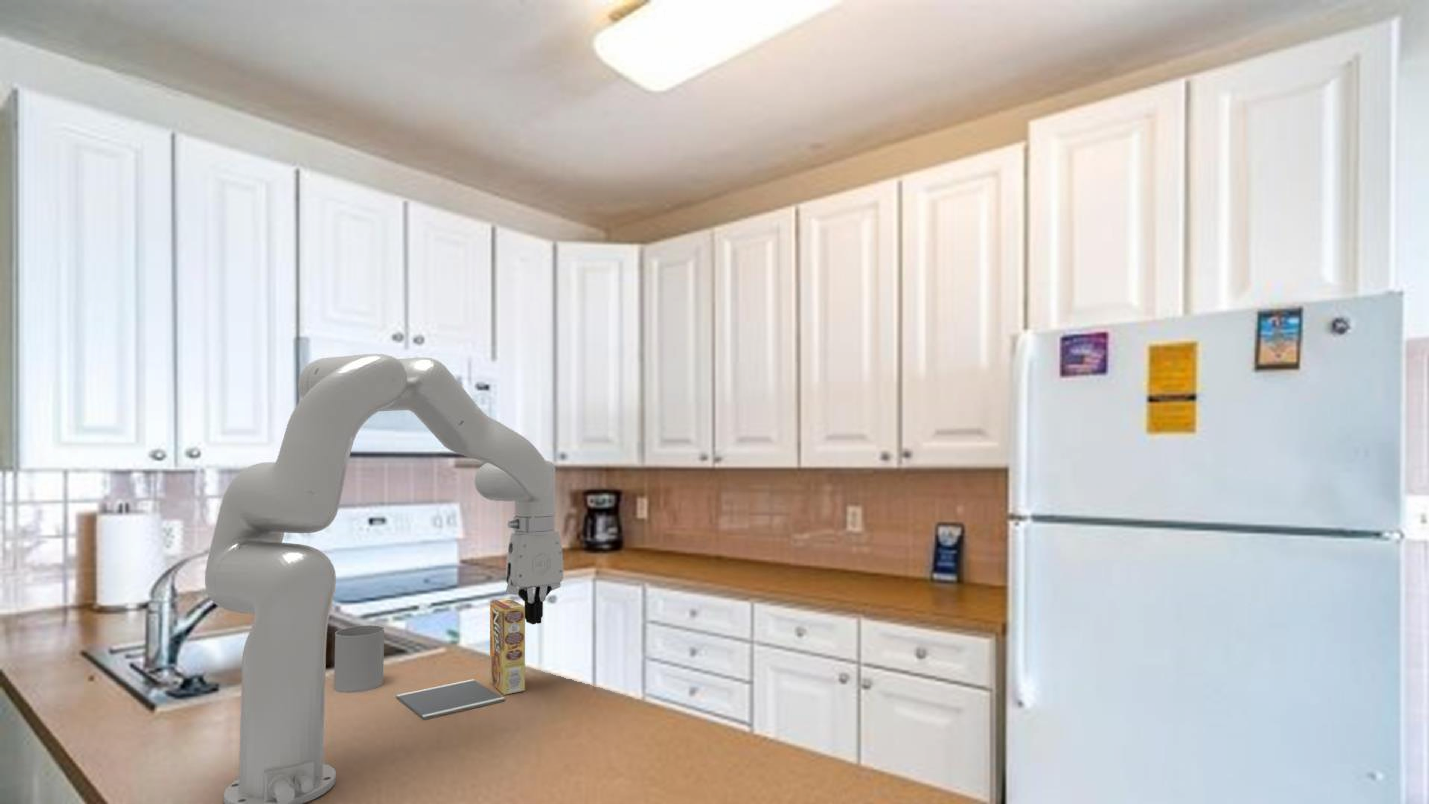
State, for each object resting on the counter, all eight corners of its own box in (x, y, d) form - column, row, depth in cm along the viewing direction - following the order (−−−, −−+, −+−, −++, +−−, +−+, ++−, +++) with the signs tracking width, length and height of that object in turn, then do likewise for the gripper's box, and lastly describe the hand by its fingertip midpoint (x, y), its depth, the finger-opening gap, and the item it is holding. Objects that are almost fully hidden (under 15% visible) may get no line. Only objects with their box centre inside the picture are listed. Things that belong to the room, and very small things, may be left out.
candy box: (526, 691, 138) (527, 605, 139) (502, 696, 136) (504, 608, 136) (510, 679, 145) (511, 597, 146) (487, 683, 143) (489, 600, 144)
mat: (504, 701, 133) (505, 698, 133) (423, 719, 124) (423, 716, 124) (473, 681, 144) (473, 679, 144) (396, 697, 135) (396, 695, 135)
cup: (334, 681, 144) (336, 628, 144) (382, 676, 147) (383, 623, 148) (333, 695, 136) (334, 638, 137) (383, 688, 140) (384, 633, 140)
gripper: (506, 529, 138) (504, 632, 137) (579, 524, 147) (578, 620, 146) (489, 526, 143) (487, 625, 142) (560, 521, 153) (559, 613, 152)
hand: (533, 622), depth 144 cm, fingers closed
